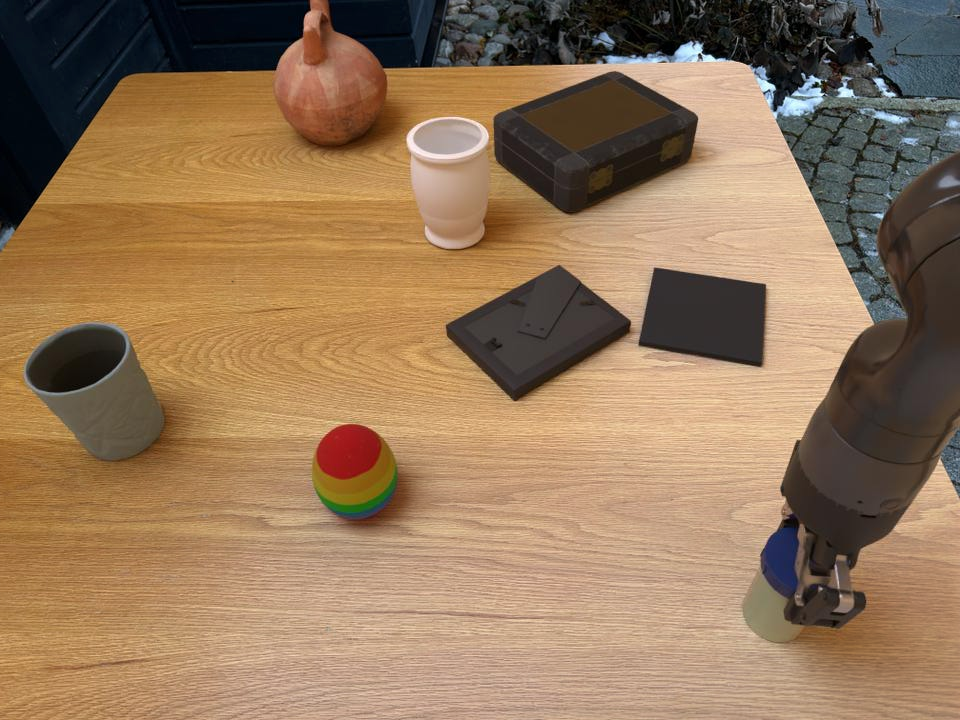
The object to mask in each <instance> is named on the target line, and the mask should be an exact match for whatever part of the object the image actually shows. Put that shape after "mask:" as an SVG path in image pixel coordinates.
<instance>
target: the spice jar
mask: <svg viewBox="0 0 960 720" xmlns="http://www.w3.org/2000/svg"><path fill="white" fill-rule="evenodd" d="M789 600H790V599H788V598H786V597H784V596H782V595H781V594H779V593H778V592H777V591H775V590H774V589H773V588H772V587H771V586H770V584H769V583H768V582H767V580H766V579H765V577H764V575H763V574H762V569H761V564H760V565H759V567H758V569H757V571H756V573H755V575H754V577H753V579H752V580H751V583H750V585H749V588H748V590H747V591H746V594H745V595H744V597H743V600H742V604H741V605H742V606H741V607H742V609H741V610H742V614H743V618H744V621H745V622H746V624H747V625H748V627H749V628H750V629H751V630H752V631H753V632H754V633H755V634H756V635H758V637H760V638H762V639H764V640H766V641H770V642H772V643H773V642H774V643H788V642H790V641H793V640H795V639H796V638H797V637H799V636H800V634H801V633H802V632H803V630H804V629H805V627H806V626H803V625H794V624H791V622H790V621H786V620H785V618H784V611H783V610H784V608H785V607H786V605H787V603H788V601H789Z"/></svg>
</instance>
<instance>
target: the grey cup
mask: <svg viewBox="0 0 960 720" xmlns="http://www.w3.org/2000/svg"><path fill="white" fill-rule="evenodd" d="M23 378H24V382H25V383H26V385H27V387H28V388H29V389H30V391H32V392H33V393H34V394H35V395H36V396H37V398H38V399H40V400H41V401H42V403H44V404H45V406H46V407H47V408H48V409H49V411H51V412H52V413H53V414H54V415H55V416H56V417H58V418H59V421H61V422H62V423H63V425H65V427H66V428H67V429H68V430H69V431H70V432H72V433H73V434H74V437H75V439H76V440H77V441H78V442H79V444H81V446H83V448H84V449H85V450H86V451H87V452H88V453H89V454H90V455H92V456H93V457H94V458H97V459H100V460H102V461H107V462H113V461H115V462H116V461H121V460H127V459H129V458H131V457H134V456H136V455H139V454H140V453H142V452H143V451H145V450H146V449H148V448H149V447H150V446H151V445H153V444H154V442H156V441H157V439H158V438H159V437H160V435H161V434H162V431H163V429H164V426H165V415H164V411H163V409H162V406H161V404H160V402H159V400H158V398H157V396H156V393H155V392H154V390H153V386H152V384H151V382H150V381H149V378H148V375H147V373H146V372H145V370H144V369H143V368H142V367H141V362H140V360H139V359H138V355H137V353H136V350H135V348H134V346H133V343H132V341H131V339H130V337H129V335H128V334H127V332H126V331H125V330H124V329H123V328H122V327H120V326H118V325H116V324H113V323H109V322H102V321H87V322H82V323H78V324H74V325H71V326H68V327H66V328H63V329H61V330H59V331H57V332H55V333H53V334H51V335H50V336H48V337H47V338H46V339H45V340H43V341H41V342H40V343H39V344H38V345H37V346H36V347H35V348H34V350H33V351H31V353H30V354H29V356H28V358H27V359H26V362H25V364H24V367H23Z"/></svg>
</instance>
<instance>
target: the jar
mask: <svg viewBox="0 0 960 720" xmlns="http://www.w3.org/2000/svg"><path fill="white" fill-rule="evenodd" d="M489 144H490V137H489V132H488V130H487V129H486V127H485V126H484V125H482V124H481V123H479V122H477V121H475V120H472V119H469V118H465V117H458V116H444V117H443V116H440V117H435V118H431V119H427V120H424V121H422V122H420V123H418V124H416V125H415V126H413V127H412V128H411V129H410V130H409V132H408V133H407V135H406V146H407V149H408V151H409V153H410V154H411V157H410V166H409V169H410V171H409V172H410V183H411V188H412V193H413V196H414V199H415V201H416V204H417V208H418V212H419V215H420V218H421V219H422V222H424V224H425V227H424V235H425V237H426V239H427V241H428V242H429V243H431V244H432V245H434V246H436V247H437V248H442V249H445V250H462V249H466V248H470V247H472V246H474V245H476V244H478V242H480V241H481V240H482V238H483V237H484V235H485V231H486V227H485V224H484V222H483V221H484V220H485V217H486V214H487V210H488V204H489V196H490V191H491V181H492V180H491V179H492V178H491V176H492V175H491V165H490V159H489V154H488V152H487V149H488V147H489Z"/></svg>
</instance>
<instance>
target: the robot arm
mask: <svg viewBox="0 0 960 720" xmlns="http://www.w3.org/2000/svg"><path fill="white" fill-rule="evenodd" d="M875 241H876V249H877V255H878V258H879V260H880V263H881V265H882V267H883V270H884V272H885V273H886V275H887V278H888V280H889V282H890V284H891V287H892V288H893V290H894V292H895V295H896V297H897V299H898V301H899V302H900V305H901V307H902V310H903V312H904V315H905V316H906V317H905V318H904V317H900V318H899V317H898V318H897V317H896V318H889V319H884V320H880V321H877V322H876V323H874V324H872V325H870V326H868V327H867V328H866V329H864V330H863V331H861V333H859V334H858V336H857V337H856V338H855V339H854V341H853V342H852V343H851V345H850V346H849V347H848V349H847V350H846V353H845V355H844V357H843V358H842V361H841V363H840V365H839V368H838V369H837V372H836V374H835V376H834V378H833V380H832V382H831V384H830V386H829V388H828V391H827V393H826V395H825V396H824V398H823V399H822V401H821V402H820V403H819V404H818V406H817V408H816V409H815V411H814V412H813V413H812V415H811V418H809V422H808V424H807V426H806V428H805V430H804V432H803V435H802V437H801V439H796V441H795V442H794V446H793V449H792V452H791V455H790V458H789V461H788V463H787V466H786V470H785V472H784V475H783V479H782V481H781V483H780V487H779V492H780V495H781V497H784V498H785V500H784V501H785V503H784V504H783V505H782V506H781V510H780V514H781V518H782V519H781V521H780V523H779V525H778V527H777V529H776V531H778V530H780V529H783V528H787V527H797V528H799V531H798V535H797V538H798V540H799V547H798V551H797V556H796V560H795V565H794V570H795V573H796V575H797V578H798V583H797V587H796V591H794V593H793V595H792V596H791V598H790V600H789V601H788V603H787V605H786V607H785V608H784V610H783V611H784V618H785V620H786V621H790V622H791V624H794V625H803V626H805V627H813V626H814V627H822V628H831V629H834V630H840V629H842V628H843V627H844V626H845V625H847V624H849V622H851V621H852V620H854V618H856V617H858V615H860V614H861V613H863V611H865V609H866V607H867V597H866V593H865V592H864V591H860V590H856V589H855V588H853V586H852V578H851V571H852V570H854V568H856V566H857V563H858V559H859V555H860V552H861V550H862V549H864V548H866V547H867V546H870V545H872V544H875V543H876V542H879V541H881V540H882V539H884V538H885V537H887V536H888V535H889V534H890V533H891V532H892V531H893V530H894V529H895V528H896V526H897V525H898V523H899V522H900V521H901V519H902V517H903V516H904V514H905V513H906V512H907V510H908V509H909V507H910V506H911V505H912V503H913V502H914V501H915V499H916V498H917V497H918V495H919V494H920V492H922V489H923V488H924V487H925V485H926V484H927V482H928V481H929V480H930V478H931V476H932V474H933V473H934V471H935V470H936V468H937V466H938V464H939V460H940V458H941V456H942V453H943V451H944V450H945V448H946V447H947V445H948V444H949V442H951V440H952V438H953V437H954V436H955V434H956V433H957V431H958V430H959V429H960V150H958V151H956V152H954V153H953V154H950V155H949V156H947V157H945V158H943V159H942V160H940V161H938V162H937V163H935V164H933V165H932V166H930V167H928V168H927V169H925V170H924V171H923V172H921V173H920V174H919V175H918V176H916V177H915V178H914V179H913V180H912V181H910V182H909V183H908V184H907V185H906V186H905V187H904V188H903V189H902V190H901V191H900V193H899V194H898V195H897V196H896V197H895V198H894V199H893V201H892V202H891V204H890V205H889V206H888V208H887V209H886V211H885V213H884V215H883V216H882V218H881V221H880V223H879V225H878V228H877V232H876V240H875ZM809 560H810V561H811V562H812V563H814V564H816V565H819V566H813V565H808V564H809ZM812 584H820V585H825V586H819V587H818V590H809V588H810V586H811V585H812Z"/></svg>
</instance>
